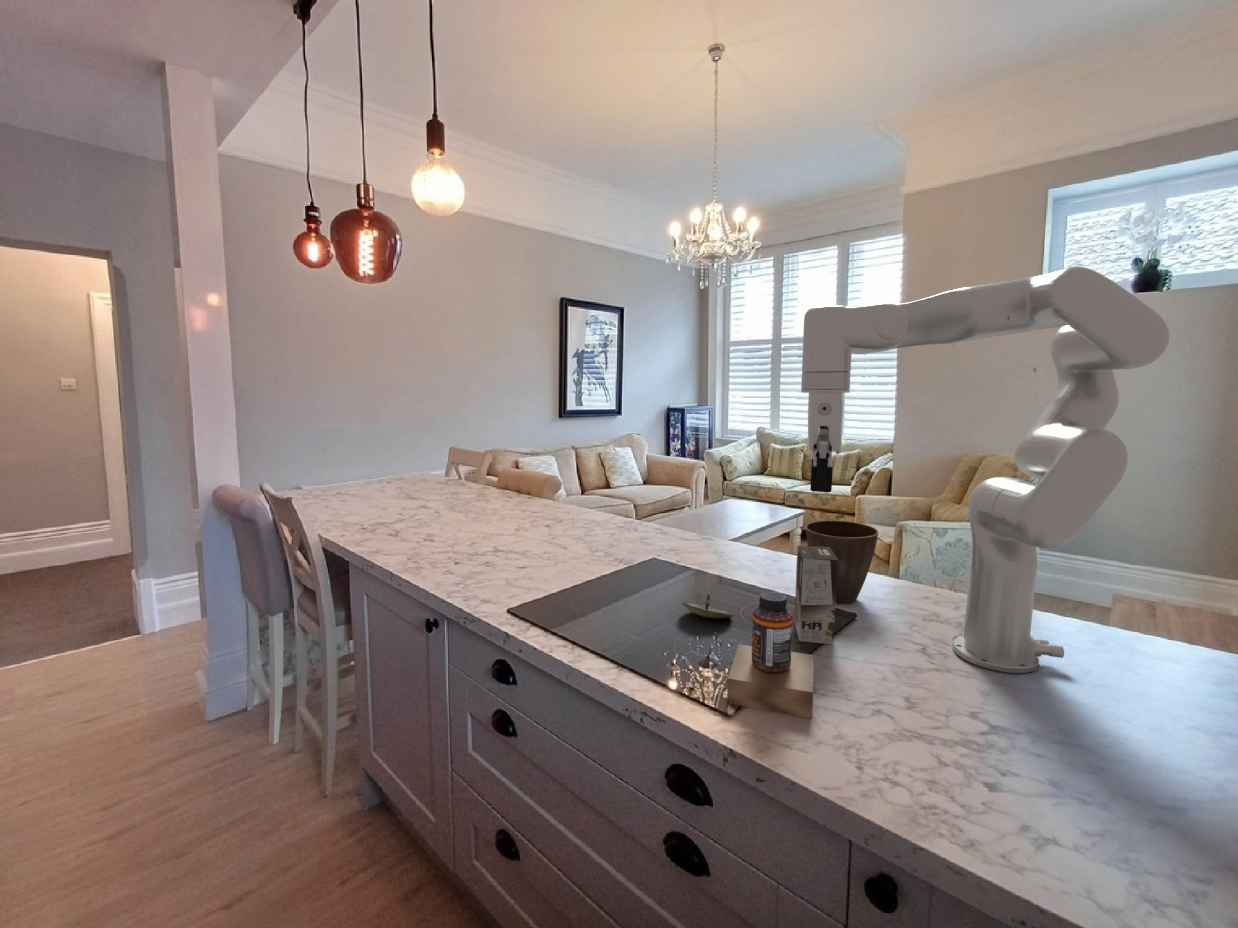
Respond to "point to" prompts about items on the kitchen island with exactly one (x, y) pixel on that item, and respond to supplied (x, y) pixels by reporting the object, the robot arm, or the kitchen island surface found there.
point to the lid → (706, 610)
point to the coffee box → (815, 594)
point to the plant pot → (846, 553)
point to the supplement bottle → (772, 633)
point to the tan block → (772, 684)
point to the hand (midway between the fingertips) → (820, 486)
